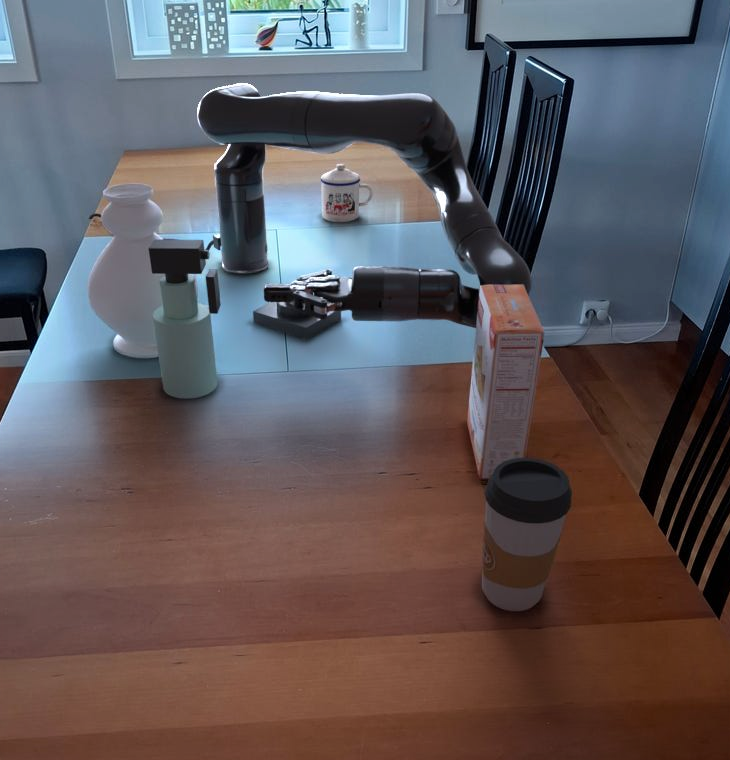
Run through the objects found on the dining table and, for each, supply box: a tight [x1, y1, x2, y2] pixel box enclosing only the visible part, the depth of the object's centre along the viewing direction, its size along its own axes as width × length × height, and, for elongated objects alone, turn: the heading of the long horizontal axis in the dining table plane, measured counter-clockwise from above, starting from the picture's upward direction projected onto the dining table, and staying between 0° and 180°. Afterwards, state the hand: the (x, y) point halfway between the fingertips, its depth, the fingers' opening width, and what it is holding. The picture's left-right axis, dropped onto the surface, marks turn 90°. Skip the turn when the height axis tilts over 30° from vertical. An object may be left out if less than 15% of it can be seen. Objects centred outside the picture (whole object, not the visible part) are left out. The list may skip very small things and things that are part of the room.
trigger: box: [205, 268, 222, 315], centre depth 116 cm, size 1×3×6 cm, turn 176°
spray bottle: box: [148, 239, 219, 400], centre depth 119 cm, size 9×8×22 cm
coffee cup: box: [481, 457, 573, 612], centre depth 83 cm, size 8×8×15 cm
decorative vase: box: [86, 182, 199, 359], centre depth 131 cm, size 18×18×25 cm
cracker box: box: [466, 284, 545, 480], centre depth 103 cm, size 14×6×21 cm, turn 178°
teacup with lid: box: [320, 163, 374, 223], centre depth 187 cm, size 12×9×12 cm
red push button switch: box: [252, 302, 342, 340], centre depth 143 cm, size 12×10×4 cm
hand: (264, 292), depth 116 cm, fingers closed
